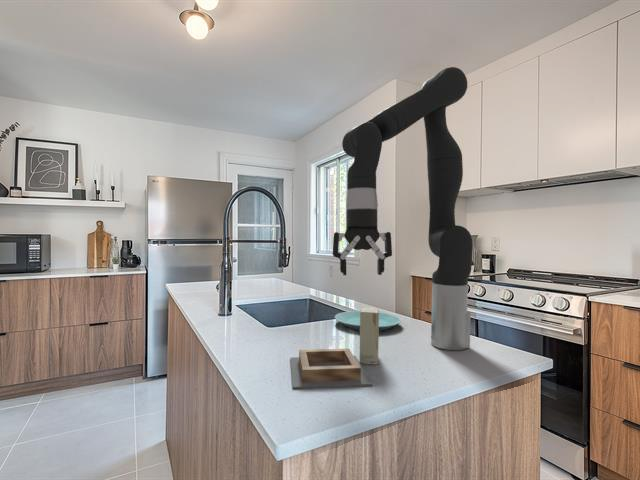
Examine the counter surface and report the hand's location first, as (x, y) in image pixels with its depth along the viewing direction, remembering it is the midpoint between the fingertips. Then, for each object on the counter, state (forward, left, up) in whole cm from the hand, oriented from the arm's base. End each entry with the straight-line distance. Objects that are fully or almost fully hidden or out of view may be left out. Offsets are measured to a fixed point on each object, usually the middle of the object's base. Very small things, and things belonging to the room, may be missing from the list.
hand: (362, 274), depth 82 cm
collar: (+9, +7, -21) cm, 24 cm away
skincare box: (-2, +1, -21) cm, 21 cm away
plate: (-10, -31, -21) cm, 39 cm away
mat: (+9, +7, -21) cm, 24 cm away
